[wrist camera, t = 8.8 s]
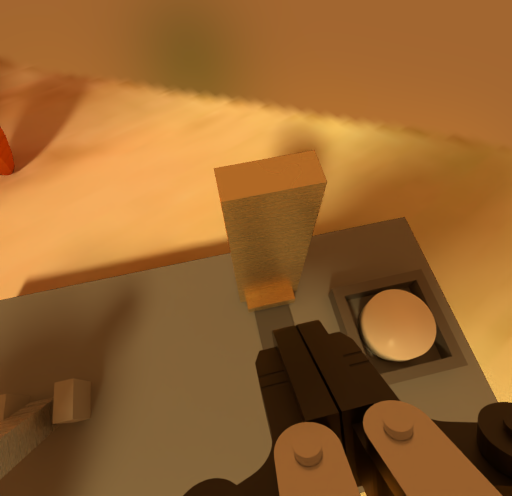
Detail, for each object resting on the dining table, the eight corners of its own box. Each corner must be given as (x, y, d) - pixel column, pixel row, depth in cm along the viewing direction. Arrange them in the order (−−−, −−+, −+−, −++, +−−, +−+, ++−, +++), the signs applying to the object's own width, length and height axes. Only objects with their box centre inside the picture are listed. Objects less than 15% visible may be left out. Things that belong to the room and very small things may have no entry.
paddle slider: (242, 313, 17) (224, 220, 9) (233, 271, 18) (210, 152, 10) (299, 301, 17) (333, 199, 9) (287, 259, 18) (308, 135, 10)
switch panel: (-28, 586, 14) (-115, 638, 11) (6, 314, 19) (-46, 294, 16) (492, 444, 16) (550, 452, 13) (392, 233, 21) (415, 201, 18)
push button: (372, 369, 15) (380, 365, 14) (349, 304, 17) (355, 297, 16) (436, 353, 16) (449, 349, 15) (407, 291, 17) (417, 282, 16)
